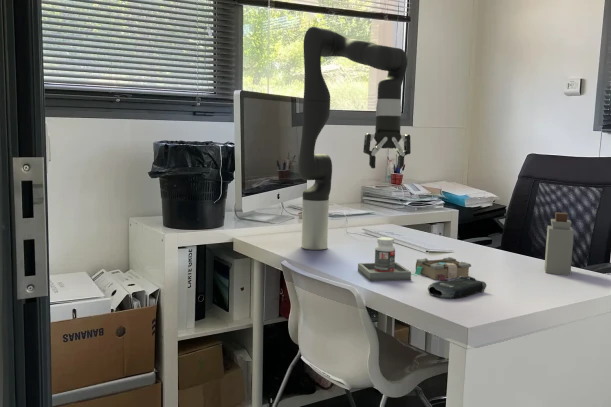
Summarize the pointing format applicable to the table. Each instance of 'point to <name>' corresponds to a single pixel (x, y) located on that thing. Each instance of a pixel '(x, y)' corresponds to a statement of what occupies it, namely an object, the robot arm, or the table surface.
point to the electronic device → (457, 287)
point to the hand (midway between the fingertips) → (386, 168)
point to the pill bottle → (385, 255)
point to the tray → (383, 273)
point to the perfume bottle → (559, 245)
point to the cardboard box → (442, 268)
